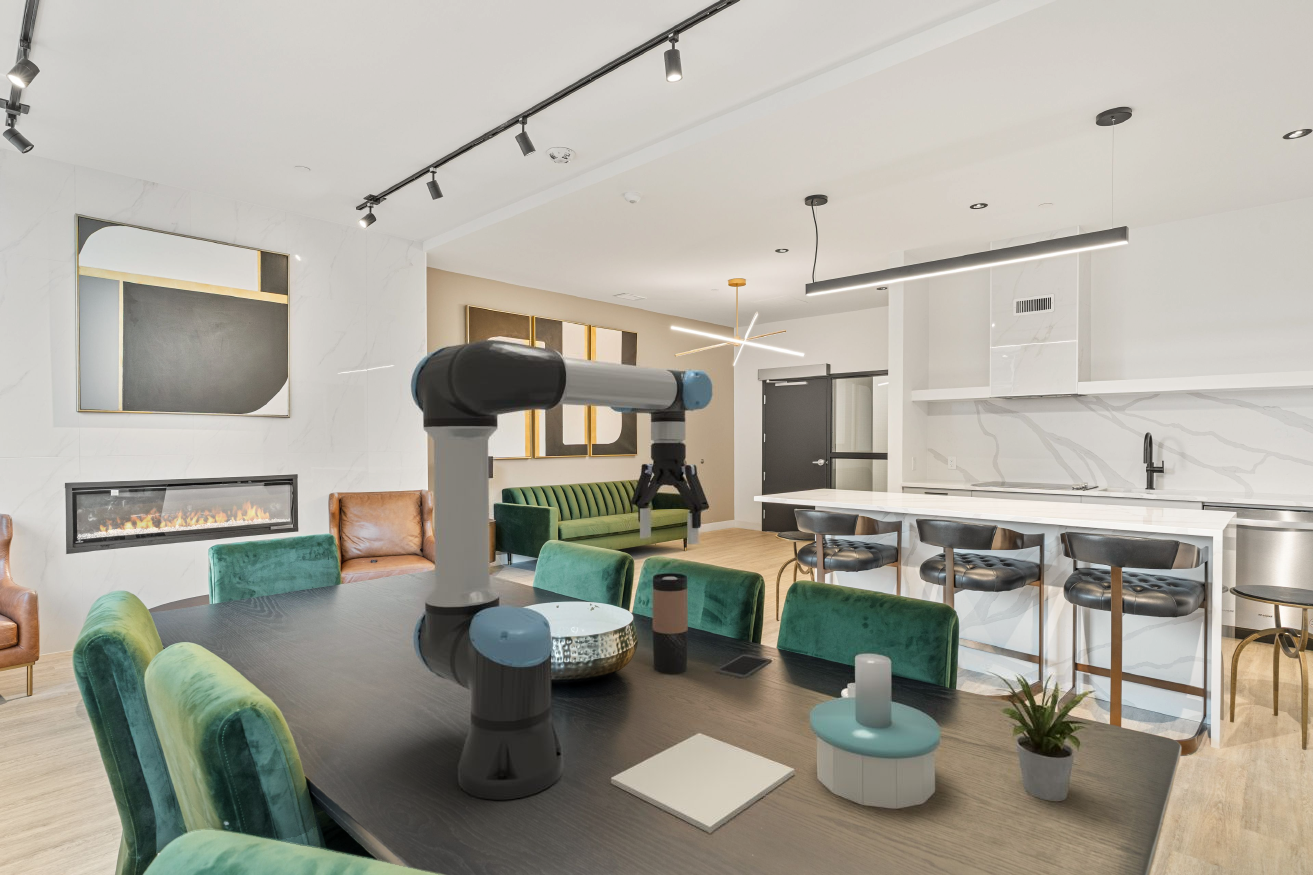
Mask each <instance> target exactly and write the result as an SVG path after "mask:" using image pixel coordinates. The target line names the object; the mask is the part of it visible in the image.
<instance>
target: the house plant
mask: <svg viewBox="0 0 1313 875" xmlns="http://www.w3.org/2000/svg"><path fill="white" fill-rule="evenodd" d="M983 671H985V672H987V673H990V674H992V675H994V676H997V677H999V679H1000V680H1002V681H1003V682H1004V683H1005V684H1006V685H1007V686H1008V687H1009V689H1010V690H1011V691H1009V690H1006V689H1003V691H1004V692H1009V693H1010V694H1011V695H1012V696H1013V697H1014V698H1016V700H1017V701H1018V702H1019V704H1020V705H1021V706H1022V708H1023V710H1024V712H1025V714H1026V715H1027V717H1028V719H1029V721H1030V723H1029V722H1028V721H1027V720H1026V718H1025V716H1024V714H1023V713H1022V711H1021V710H1020V708H1019V707H1018V705H1017V704H1016V703H1015V701H1013V699H1011V698H1010V697H1008V696H1007V695H1005V694H1004V695H1003V694H1000V693H999V694H998V693H996V694H994V695H996V696H998V695H999V696H1003V697H1005V698H1006V699H1007V700H1008V701H1009V702H1010V703H1011V704H1012V706H1014V708H1015V709H1016V710H1015V709H1013V708H1009V707H1008V708H1004V709H1002V710H1000V712H1001V713H1003V714H1004V715H1005V714H1006V715H1008V716H1006V718H1009V719H1012V720H1015V721H1018V722H1019V724H1020V725H1016V724H1014V723H1013V722H1011V721H1009V720H1006V719H999V721H1002V722H1007V723H1010V724H1011V725H1013V726H1014V727H1013V731H1012V733H1013V734H1012V739H1013V738H1014V737H1015V736H1017V735H1020V734H1022V736H1020V737H1018V738H1016V740H1015V744H1016V750H1017V755H1018V761H1019V762H1018V763H1019V766H1020V767H1019V768H1020V773H1021V778H1022V783H1023V790H1025V792H1027V793H1028V794H1030V795H1031V796H1033V797H1036V798H1037V799H1041V800H1044V801H1049V802H1061V801H1064V800H1066V799H1067V797H1068V792H1069V784H1070V781H1071V780H1070V779H1071V774H1072V770H1073V769H1072V768H1073V765H1074V758H1075V751H1074V749H1073V748H1072V747H1071V746H1070V745H1068V744H1066V743H1065V741H1066V739H1067V740H1068V741H1070V742H1071V743H1072V745H1074V746H1075V748H1076V749H1077V751H1078V752H1077V753H1079V751H1080V750H1079V749H1080V745H1081V742H1080V740H1079V738H1078V737H1077V736H1075V735H1073V734H1072V733H1075V732H1076V731H1079V730H1081V729H1086V730H1087V729H1088V728H1087V727H1085V726H1083V725H1091V726H1092V723H1088V722H1083V721H1078V720H1077V721H1076V720H1064V719H1065V717H1066V716H1067V715H1068V714H1069V713H1070V712H1071V711H1072V710H1073V709H1075V708H1076V707H1079V706H1081V704H1080V703H1081V701H1083V700H1084V698H1085V697H1088V695H1091V694H1092V693H1094V692H1096V690H1088V691H1084V692H1082V693H1079V694H1078V695H1076V696H1075V697H1073V698H1072V699H1071V700H1069V701H1068V702H1067V703H1066V704H1065V705H1064V706H1063V707H1062V708H1061V710H1060V711H1059V714H1058V715H1057V717H1056V718H1055V720H1054V717H1055V713H1056V707H1057V705H1058V701H1059V694H1060V693H1059V691H1060V690H1063V687H1061V688H1059V685H1058V681H1056V683H1055V685H1054V690H1053V691H1052V694H1051V695H1049V696H1048V698H1047V699H1046V701H1045V698H1046V693H1047V687H1048V683H1049V682H1050V680H1051V677H1052V676H1053V674H1050V675H1049V677H1048V678H1047V680H1046V681H1045V684H1044V689H1043V694H1042V700H1041V704H1037V702H1036V700H1035V698H1034V695H1033V694H1032V691H1031V688H1030V684H1029V682H1028V681H1027V680H1026V678H1024V676H1023V675H1022V674H1019V673H1018V675H1019V676H1020V677H1018V676H1017V675H1015V674H1014V676H1015V678H1016V680H1017V682H1018V684H1019V685H1020V687H1021V689H1022V692H1023V694H1024V696H1025V698H1026V699H1027V701H1028V704H1027V703H1026V702H1025V701H1024V700H1023V698H1022V697H1021V696H1020V695H1018V694H1017V692H1016V691H1015V689H1014V688H1013V687H1012V686H1011V684H1010V683H1009V682H1008V681H1007V680H1006V679H1005V678H1004V677H1002V676H1000V675H998V674H997V673H994V672H991V671H988V670H983ZM995 691H1002V689H1001V688H1000V689H999V688H998V689H997V688H996V689H995ZM1050 698H1051V701H1050V704H1049V705H1048V703H1049V700H1050ZM1028 705H1029V706H1028ZM1086 706H1088V705H1087V704H1086ZM1029 707H1030V708H1029ZM1053 720H1054V721H1053ZM1077 724H1079V725H1077ZM1080 724H1083V725H1080ZM1075 725H1076V726H1075ZM1025 732H1026V733H1025Z"/></svg>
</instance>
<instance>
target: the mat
mask: <svg viewBox="0 0 1313 875" xmlns="http://www.w3.org/2000/svg"><path fill="white" fill-rule="evenodd" d="M794 775H795V768H792V767H790V766H787V765H785V764H783V763H780V762H777V761H774V760H771V759H769V758H766V757H764V756H762V755H758V754H756V753H754V752H751V751H748V750H745V749H743V748H740V747H737V746H735V745H732V744H729V743H726V742H725V741H721V740H718V739H716V738H714V737H710V736H709V735H705V734H703V733H701V732H699V733H696V734H694V735H692V736H691V737H689V738H687V739H685V740H683V741H681V742H678V743H677V744H675V745H673V746H671V747H669V748H667V749H665V750H663V751H661V752H659V753H657V754H655V755H653V756H650V757H649V758H647V759H645V760H644V761H642V762H639V763H638V764H635V765H634V766H632V767H630V768H627V769H626V770H624V771H622V772H620V773H617V774H616V775H614V776H612V777H610V778H611V779H610V784H612V785H613V786H615V787H617V788H619V789H621V790H623V791H625V792H628V793H629V794H631V795H633V796H635V797H637V798H639V799H641V800H643V801H645V802H647V803H649V804H651V805H653V806H655V807H657V808H659V809H660V810H663V811H664V812H667V813H669V814H671V815H673V816H674V817H677V818H678V819H681V820H683V821H684V822H686V823H688V824H691V825H692V826H695V827H697V828H698V829H701V830H703V831H705V832H706V833H708V834H711V833H713V832H715V831H716V830H717V829H718V828H720V827H722V826H723V825H724V824H725V823H727V822H729V821H730V820H731V819H732V818H734V817H736V816H737V815H738V814H740V813H742V812H743V811H744V810H745V809H747V808H749V807H750V806H751V805H753V804H754V803H755V802H757V801H759V800H760V799H761V798H762V797H765V796H766V795H767V794H768V793H770V792H771V791H773V790H774V789H776V788H777V787H778V786H781V785H782V784H783V783H784V782H786V781H788V780H789V779H790V778H792V776H794Z"/></svg>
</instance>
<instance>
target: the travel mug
mask: <svg viewBox="0 0 1313 875" xmlns="http://www.w3.org/2000/svg"><path fill="white" fill-rule="evenodd" d="M688 612H689V610H688V576H687V575H685V574H683V573H678V572H677V573H675V572H673V573H671V572H664V573H657V574H655V575H653V577H652V652H653V657H652V658H653V669H654V671H655V672H657V673H659V674H663V675H678V674H682V673H685V672H686V670H687V669H688V668H687V666H688V640H689V639H688V638H689V637H688V636H689V635H688V633H689V632H688V628H689V626H688V625H689V624H688V622H689V620H688V619H689V618H688V617H689V616H688Z"/></svg>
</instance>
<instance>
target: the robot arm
mask: <svg viewBox="0 0 1313 875" xmlns="http://www.w3.org/2000/svg"><path fill="white" fill-rule="evenodd" d="M410 391H411V396H412V399H413V401H414V403H415V405H416V406H417V407H418V408H419V410H420V411H421V412H422V413H423V414H422V416H423V417H422V420H423V428H422V429H423V431H425V432H426V434H428V435H429V436H430V437H431V439H432V440H433V492H434V493H433V498H434V500H433V503H434V505H433V506H434V508H433V509H434V513H433V514H434V517H433V519H434V521H433V522H434V525H433V526H434V588H433V590H432V591H430V593H429V594H427V596H425V599H424V600H425V604H424V605H425V606H424V608H425V609H424V611H423V612H422V616H421V617H420V618H419V619H418V620H417V622H416V625H415V627H414V632H413V647H414V651H415V654H416V656H417V658H418V659H419V661H420V662H421V664H422V665H423V666H424V667H425V668H426V669H428V670H429V671H430V673H433V674H434V675H436V676H437V677H439V678H441V679H445V680H449V681H451V682H452V683H454V684H457V685H458V686H461V687H463V688H465V689H467V690H469V691H470V725H469V730H468V732H467V735H466V739H465V742H464V745H463V748H462V752H461V756H460V758H459V761H458V763H457V764H458V766H457V779H458V780H457V782H458V785H459V787H460V788H461V789H462V790H463V791H464V792H465V793H467V794H469V795H471V796H474V797H477V798H480V799H486V800H512V799H518V798H523V797H528V796H530V795H534V794H537V793H539V792H542V791H543V790H546V789H548V788H549V787H550V786H551V787H552V785H554V784H555V783H556V782H557V781H558V780H559V779H560V778H561V776H562V774H563V771H564V755H563V749H562V746H561V743H560V740H559V738H558V734H557V732H556V729H555V724H554V722H553V720H552V650H553V641H552V634H551V633H552V632H551V626H550V622H549V621H548V619H547V618H546V616H544V615H543V614H542V613H541V612H539V611H536V610H534V609H531V608H528V607H523V606H520V607H516V606H514V605H500V592H499V591H498V590H497V589H495V587H493V586H492V585H491V582H490V580H491V579H490V578H491V577H490V570H491V569H490V564H491V563H490V501H489V500H490V497H489V496H490V492H489V490H490V488H489V484H490V482H489V480H490V479H489V476H490V474H489V441H490V440H489V439H490V437H491V436H492V435H494V433H495V432H496V431H497V430H498V425H499V424H498V416H499V415H505V414H510V413H516V412H517V413H518V412H522V411H534V410H536V411H537V410H545V411H548V410H553V409H556V408H557V407H558V406H559V405H570V406H571V405H572V406H592V407H606V408H607V407H608V408H609V407H610V409H611V410H612V411H615V412H619V413H623V414H649V415H650V440H651V441H653V442H652V443H651V444H650V459H651V460H652V463H642V464H641V469H640V475H639V478H638V482H637V483H636V487H635V489H634V492H633V494H632V497H631V500H630V504H631V505H632V506H633V505H634V506H636V507H637V512H638V513H637V518H638V519H637V520H638V523H639V539H648V538H652V520H651V519H652V514H651V513H652V510H651V509H652V508H651V507H650V504H651V502H652V500H653V499H654V497H655V496H656V494H657V493H658V491H659V490H660V488H661V487H663V486H671V487H672V486H673V487H674V488H675V489H676V490H677V491H678V493H679V495H680V496H681V498H682V500H683V501H684V502H685V505H686V506H687V507H688V510H689V511H688V512H687V513H686V514H687V515H686V516H687V518H686V519H687V520H686V521H687V523H686V524H687V530H686V531H687V540H686V541H687V543H686V544H687V545H688V546H689V545H691V546H692V545H695V544H696V545H697V544H699V529H700V528H701V527H702V517H701V516H702V512H703V511H705V510H709V509H710V504H709V502H708V499H707V497H706V494H705V492H704V489H703V486H702V484H701V481H700V479H699V476H698V470H697V468H698V467H697V466H696V464H686V465H685V460H686V456H687V454H686V450H687V448H686V446H687V445H686V444H685V443H684V441H686V439H687V438H686V434H687V433H686V411H689V412H693V411H696V410H702V409H705V408H707V406H708V405H709V404H710V403H711V401H712V397H713V384H712V381H711V378H710V376H709V375H708V374H707V373H706V372H705V371H703V370H701V369H693V370H692V369H687V370H679V369H664V368H655V367H648V366H640V365H639V366H638V365H632V364H631V365H630V364H624V363H616V362H615V363H614V362H608V361H607V362H605V361H597V360H591V359H582V358H574V357H573V358H572V357H565V356H563V355H562V354H561V353H560V352H559V351H558V350H555V349H554V348H544V347H540V346H539V347H538V346H533V345H527V344H523V343H517V342H509V341H504V340H495V339H487V340H486V339H484V340H477V341H473V342H469V343H463V344H456V345H451V346H450V345H449V346H444V347H441V348H439V349H436V350H434V351H433V352H431V353H429V354H427V355H426V356H424V357H423V358H422V359H421V360H420V361H419V363H417V365H416V367H415V368H414V371H413V373H412V377H411V380H410ZM684 475H685V476H684Z"/></svg>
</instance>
